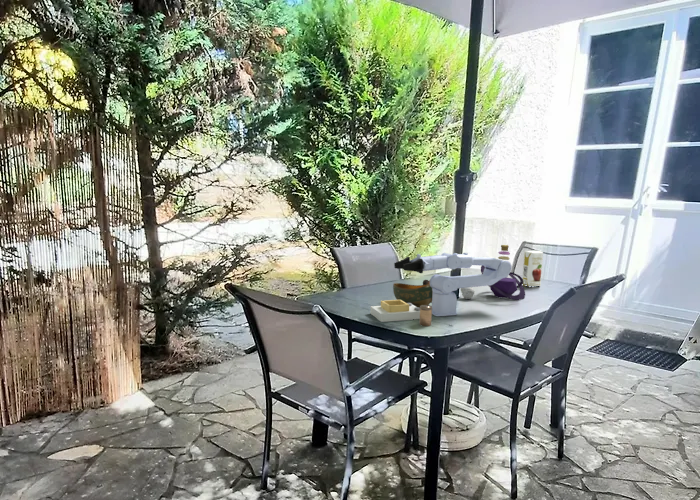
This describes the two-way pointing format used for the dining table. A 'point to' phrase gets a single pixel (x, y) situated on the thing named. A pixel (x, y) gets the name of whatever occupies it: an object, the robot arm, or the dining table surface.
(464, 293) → the white bumpy ball
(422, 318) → the copper can
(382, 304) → the tray with yellow box
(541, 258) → the juice carton
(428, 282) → the pottery mug
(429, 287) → the green brown bowl
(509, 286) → the decorative bottle
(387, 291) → the dining table surface
